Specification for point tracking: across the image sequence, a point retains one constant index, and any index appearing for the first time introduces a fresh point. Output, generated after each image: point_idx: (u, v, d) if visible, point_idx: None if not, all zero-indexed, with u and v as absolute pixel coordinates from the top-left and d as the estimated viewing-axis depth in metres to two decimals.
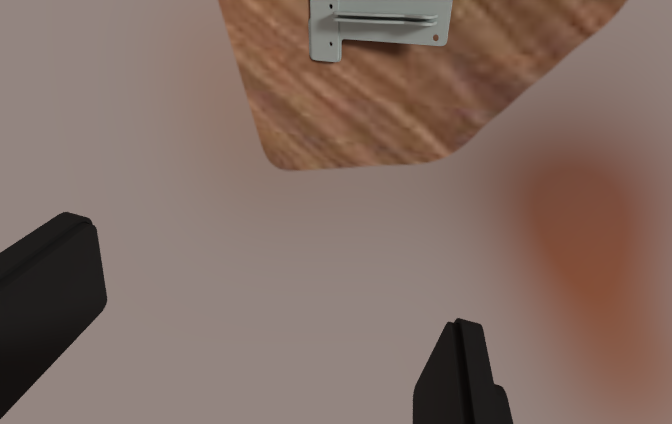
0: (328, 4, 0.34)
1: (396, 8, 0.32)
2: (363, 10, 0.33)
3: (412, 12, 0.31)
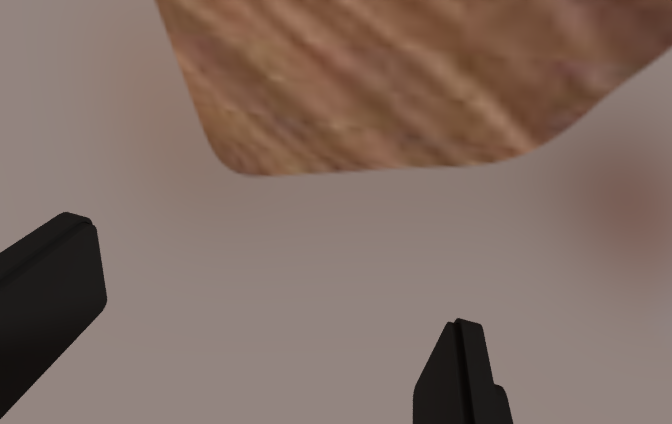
0: None
1: None
2: None
3: None
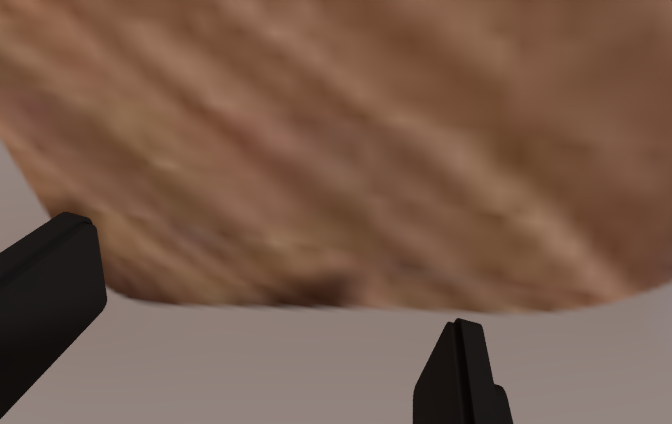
0: None
1: None
2: None
3: None
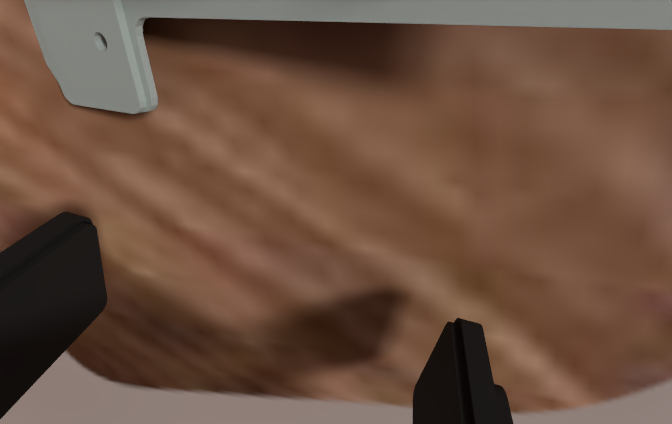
0: None
1: None
2: None
3: None
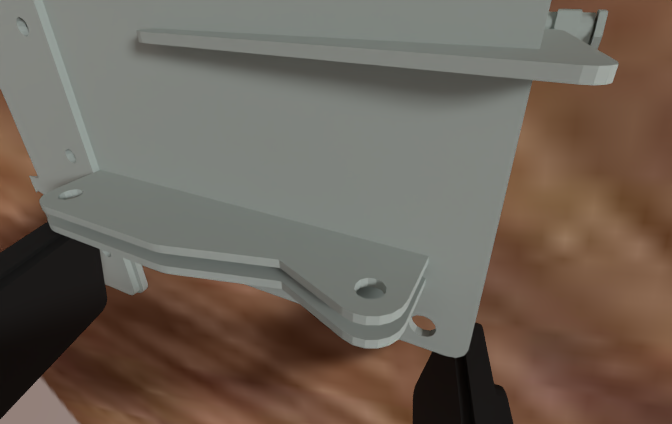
0: (62, 148, 0.10)
1: (263, 199, 0.08)
2: (163, 183, 0.09)
3: (324, 224, 0.08)
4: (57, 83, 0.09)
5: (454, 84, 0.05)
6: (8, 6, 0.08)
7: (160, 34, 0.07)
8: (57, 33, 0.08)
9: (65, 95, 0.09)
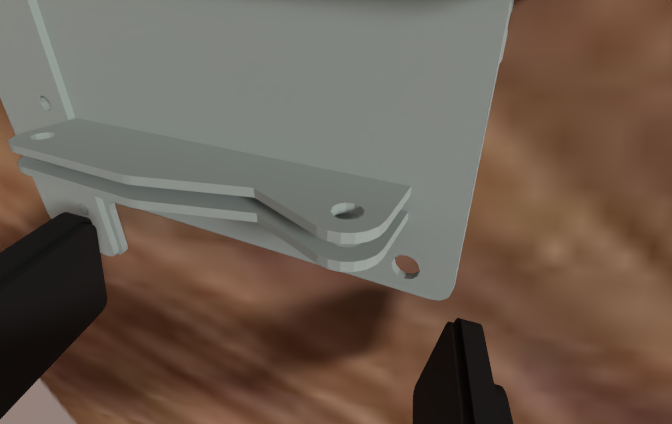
0: (37, 96, 0.10)
1: (240, 136, 0.08)
2: (139, 127, 0.09)
3: (304, 159, 0.07)
4: (29, 20, 0.09)
5: None
6: None
7: None
8: None
9: (38, 34, 0.09)
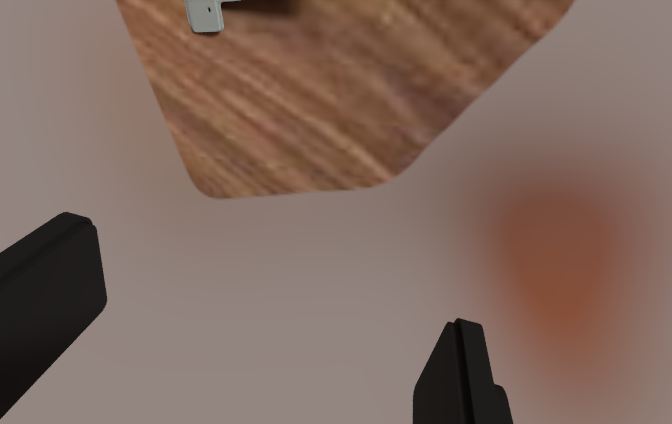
0: None
1: None
2: None
3: None
4: None
5: None
6: None
7: None
8: None
9: None
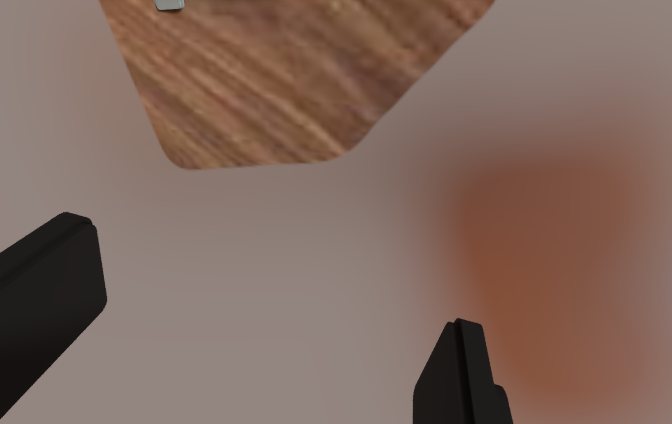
0: None
1: None
2: None
3: None
4: None
5: None
6: None
7: None
8: None
9: None
